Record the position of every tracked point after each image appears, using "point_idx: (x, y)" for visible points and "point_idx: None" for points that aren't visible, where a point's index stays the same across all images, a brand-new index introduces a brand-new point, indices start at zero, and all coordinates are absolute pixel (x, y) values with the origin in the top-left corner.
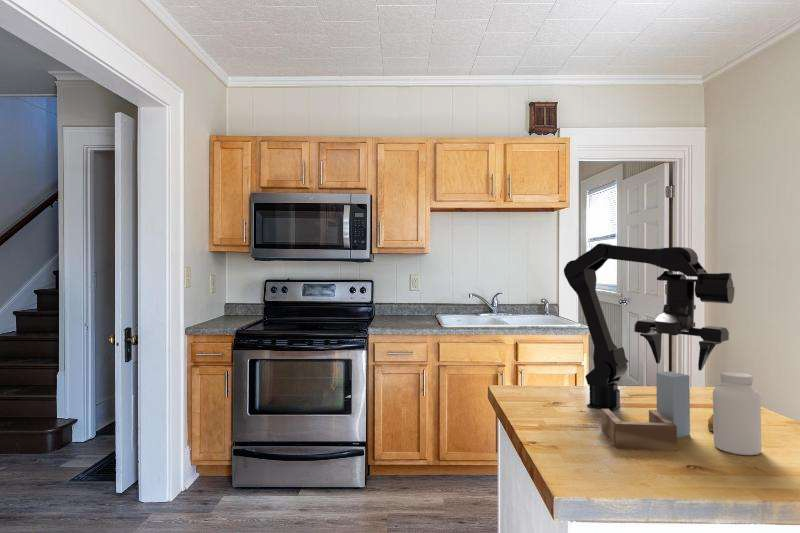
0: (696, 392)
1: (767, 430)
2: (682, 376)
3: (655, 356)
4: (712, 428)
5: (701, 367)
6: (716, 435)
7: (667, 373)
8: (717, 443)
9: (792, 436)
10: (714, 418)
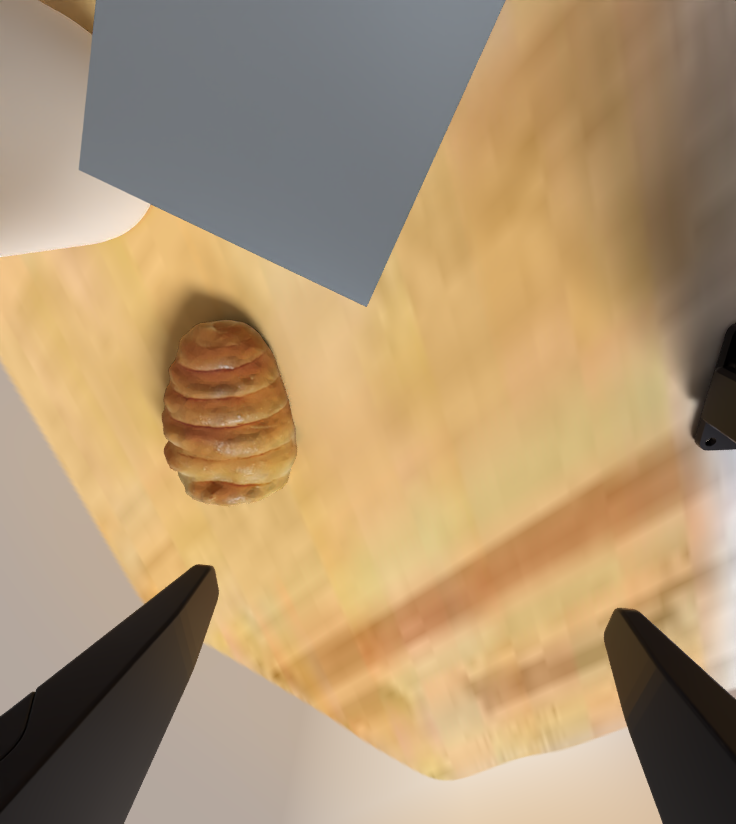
0: (462, 736)
1: (144, 487)
2: (100, 6)
3: (696, 678)
4: (239, 326)
5: (170, 588)
6: (65, 22)
7: (361, 61)
8: (88, 32)
9: (68, 473)
10: (3, 5)
